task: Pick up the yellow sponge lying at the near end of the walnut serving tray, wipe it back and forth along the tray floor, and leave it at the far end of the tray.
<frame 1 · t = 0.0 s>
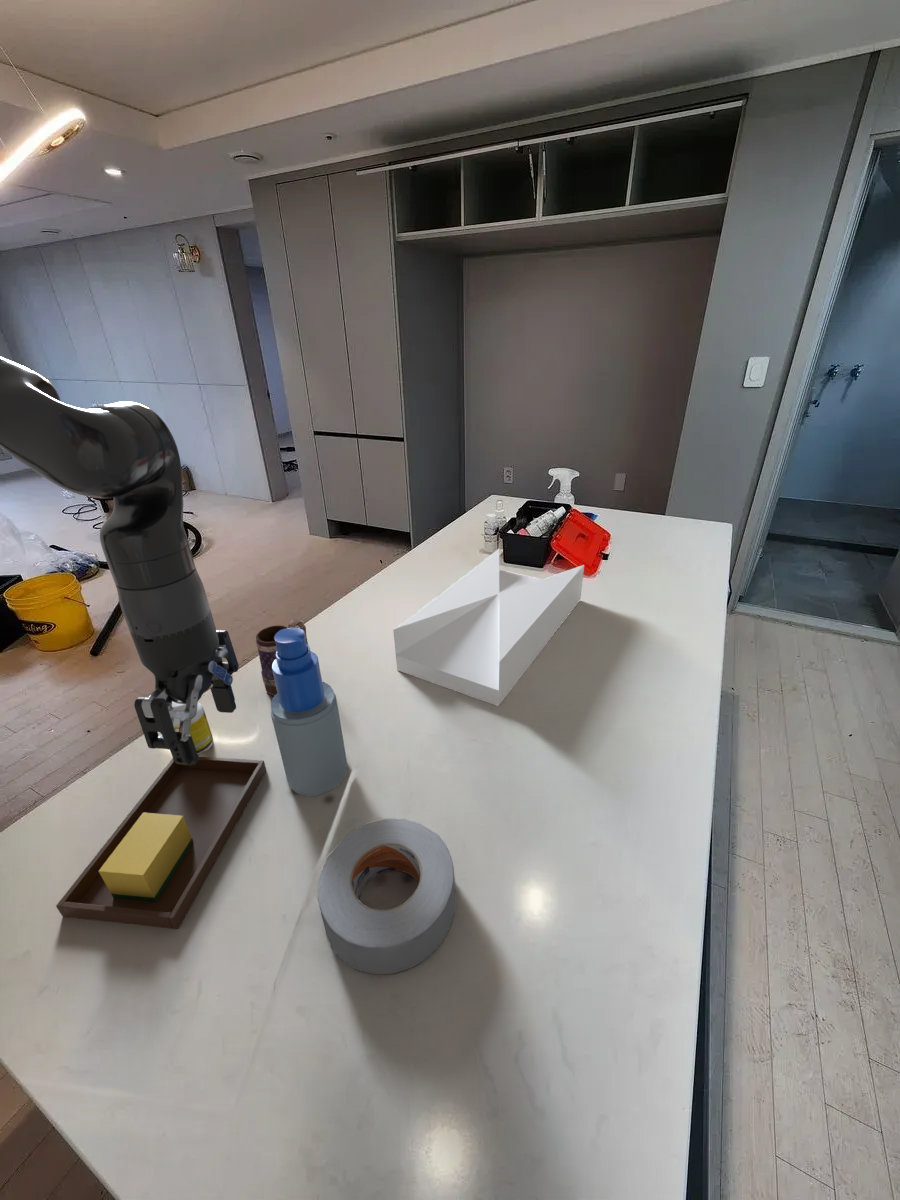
hand: (209, 735, 59), 18 cm above the table, tool pointing down, fingers open, 8 cm apart
spray bottle: (318, 775, 77), on the table
tray: (179, 836, 68), on the table
supplement bottle: (196, 747, 83), on the table
sponge: (155, 868, 63), point 1 cm above the table, touching tray
building model: (498, 632, 112), on the table
mug: (291, 682, 98), on the table
tape roll: (390, 902, 59), on the table
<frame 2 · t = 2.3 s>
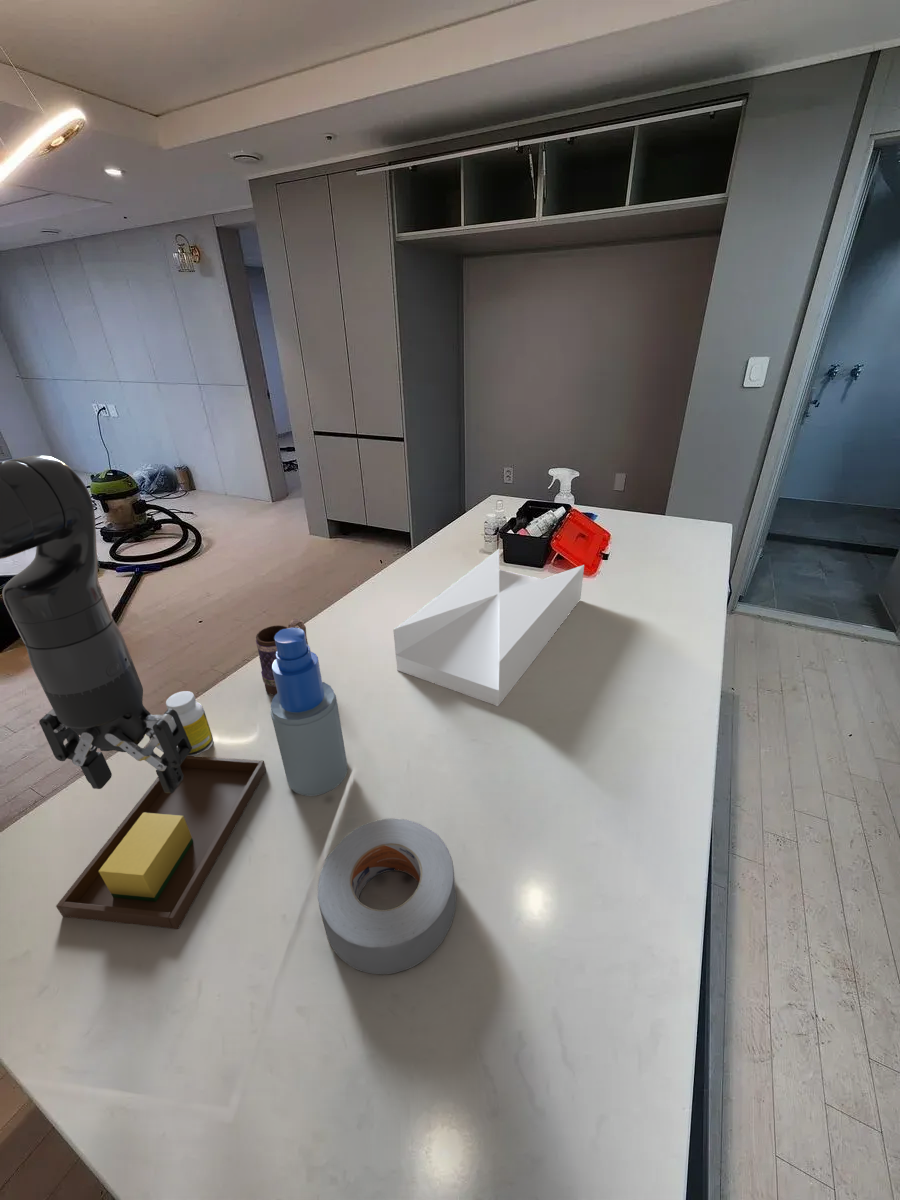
hand: (138, 785, 58), 14 cm above the table, tool pointing down, fingers open, 8 cm apart
nothing on the table moved.
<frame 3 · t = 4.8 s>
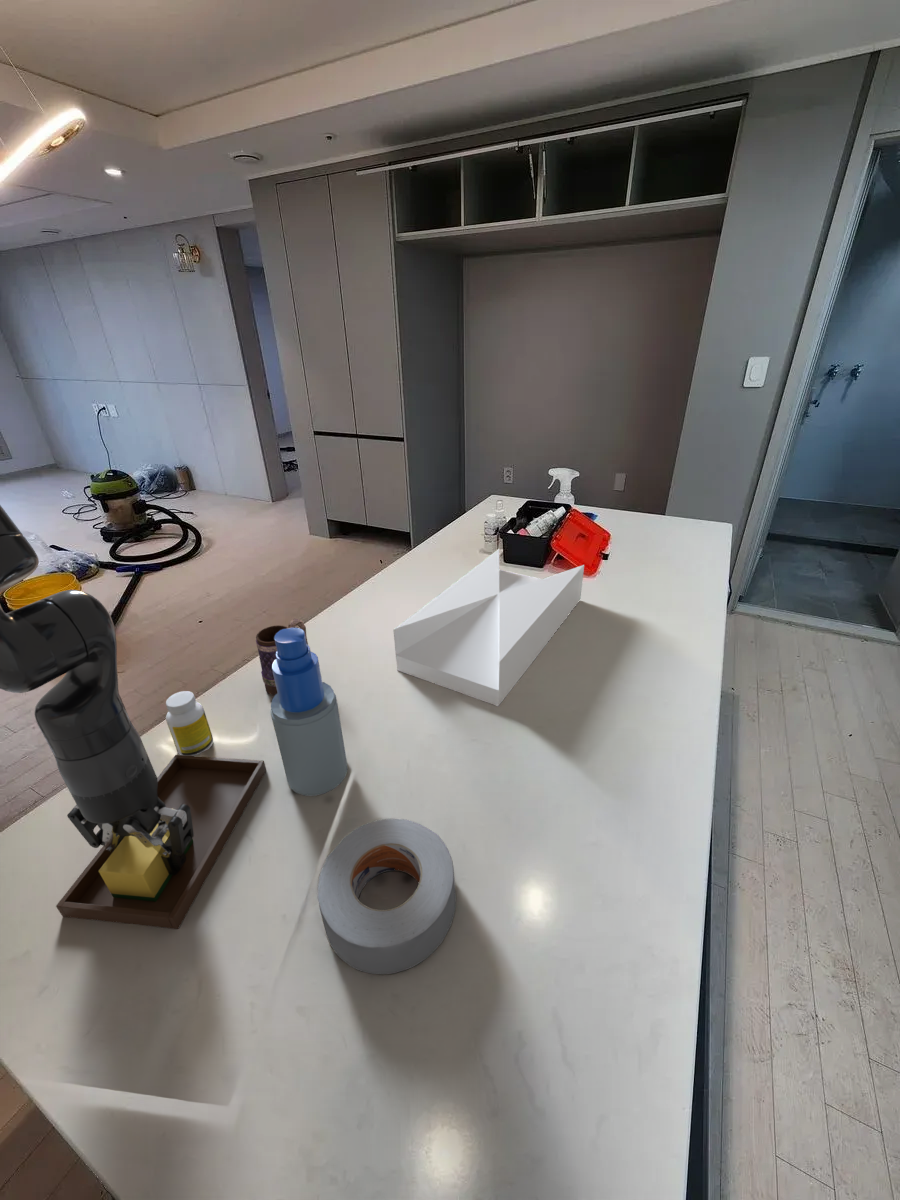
hand: (154, 865, 63), 1 cm above the table, tool pointing down, fingers closed on sponge, 5 cm apart
sponge: (155, 868, 63), point 1 cm above the table, touching gripper, tray
everything else where it was.
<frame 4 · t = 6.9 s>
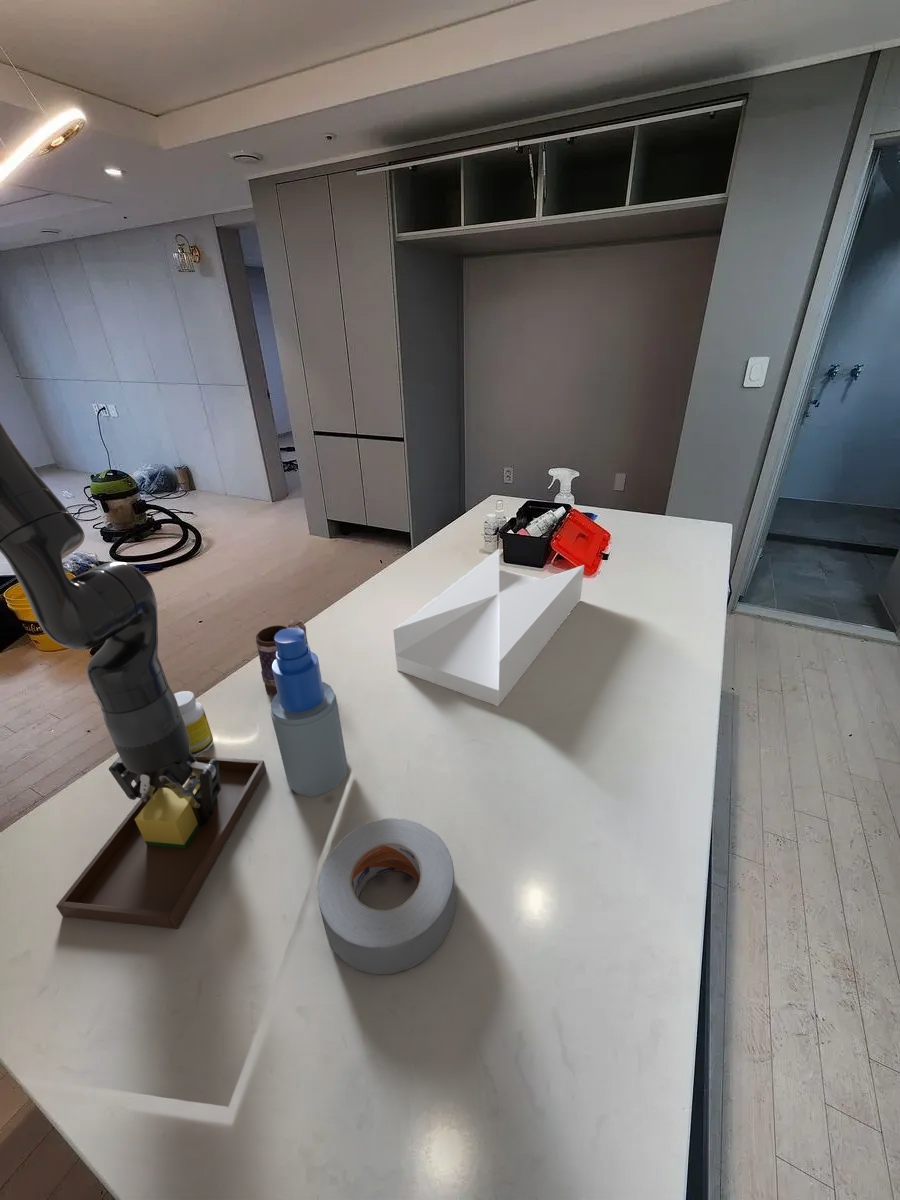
hand: (184, 817, 69), 1 cm above the table, tool pointing down, fingers closed on sponge, 5 cm apart
sponge: (183, 820, 69), point 1 cm above the table, touching gripper
everything else where it was.
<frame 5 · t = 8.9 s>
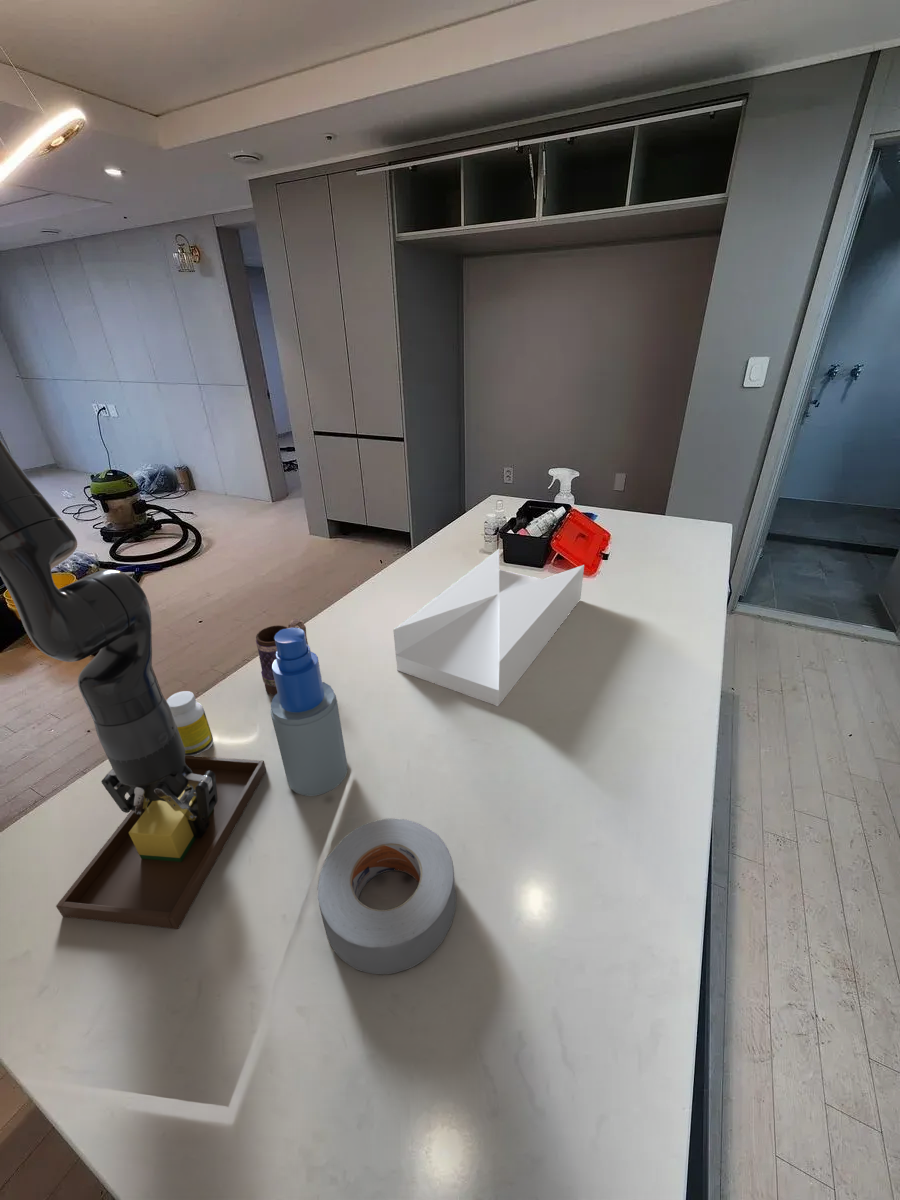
hand: (179, 830, 68), 1 cm above the table, tool pointing down, fingers closed on sponge, 5 cm apart
sponge: (179, 833, 68), point 1 cm above the table, touching gripper
everything else where it was.
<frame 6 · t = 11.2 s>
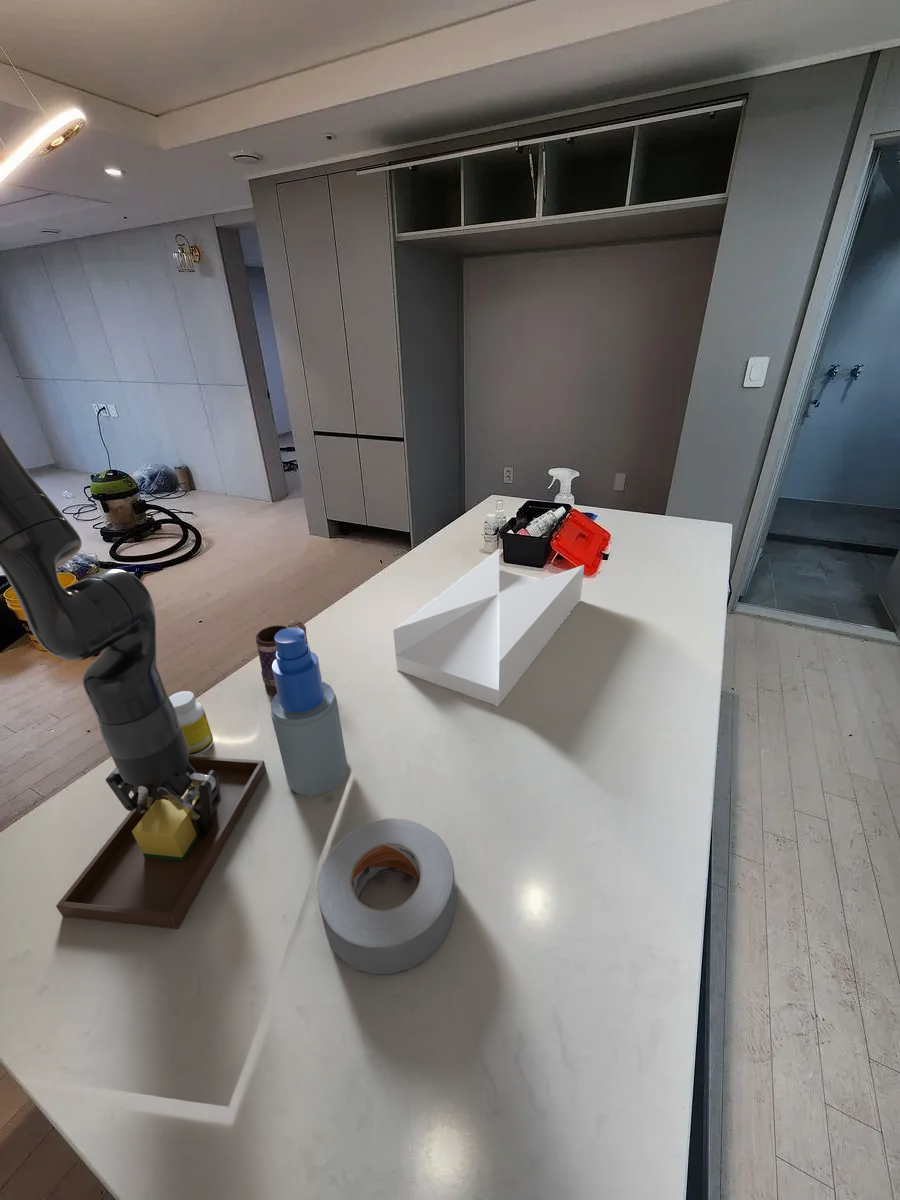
hand: (183, 829, 68), 1 cm above the table, tool pointing down, fingers closed on sponge, 5 cm apart
sponge: (182, 832, 68), point 1 cm above the table, touching gripper
everything else where it was.
when the fingers open (1 cm above the table, at t = 13.1 s): sponge stays where it is, resting on tray.
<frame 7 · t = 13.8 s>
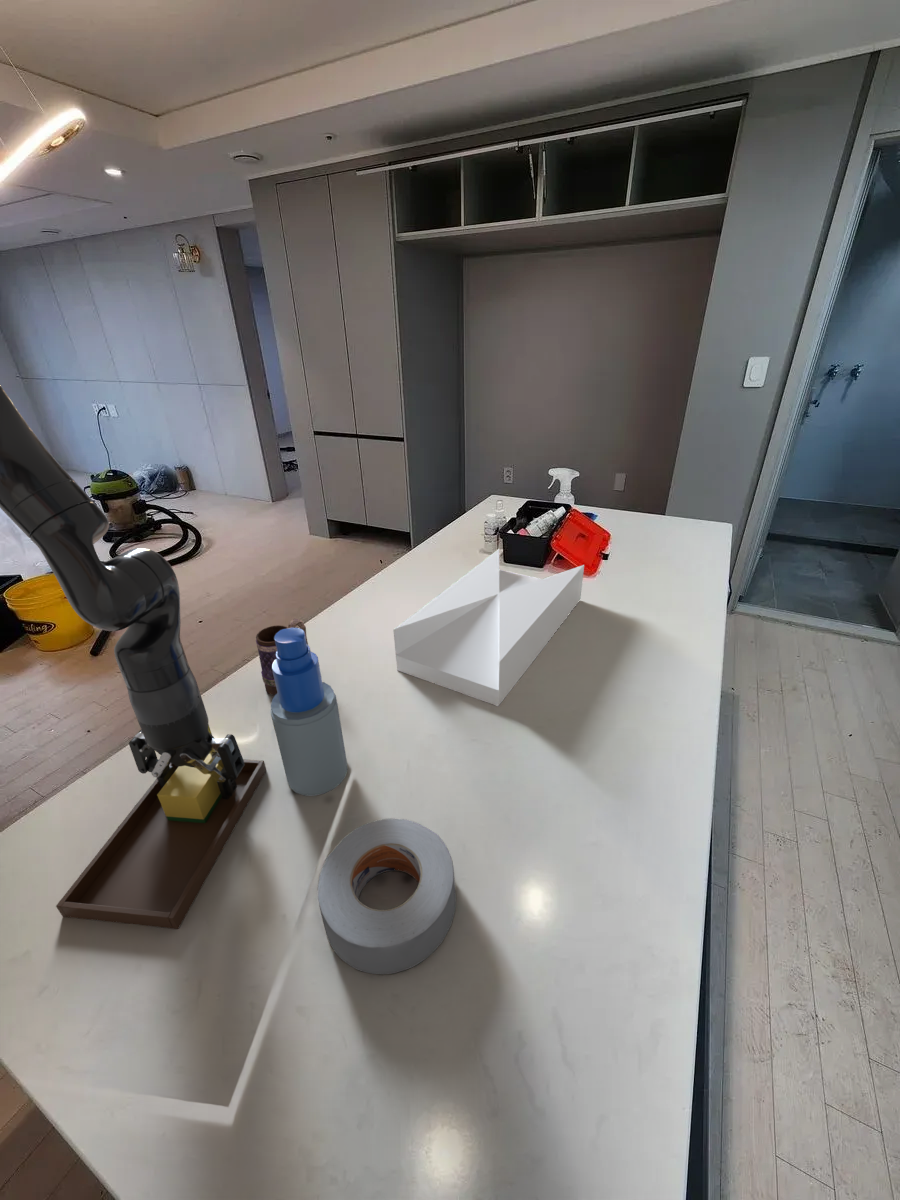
hand: (200, 792, 72), 1 cm above the table, tool pointing down, fingers open, 8 cm apart
sponge: (202, 798, 73), point 1 cm above the table, touching tray
everything else where it was.
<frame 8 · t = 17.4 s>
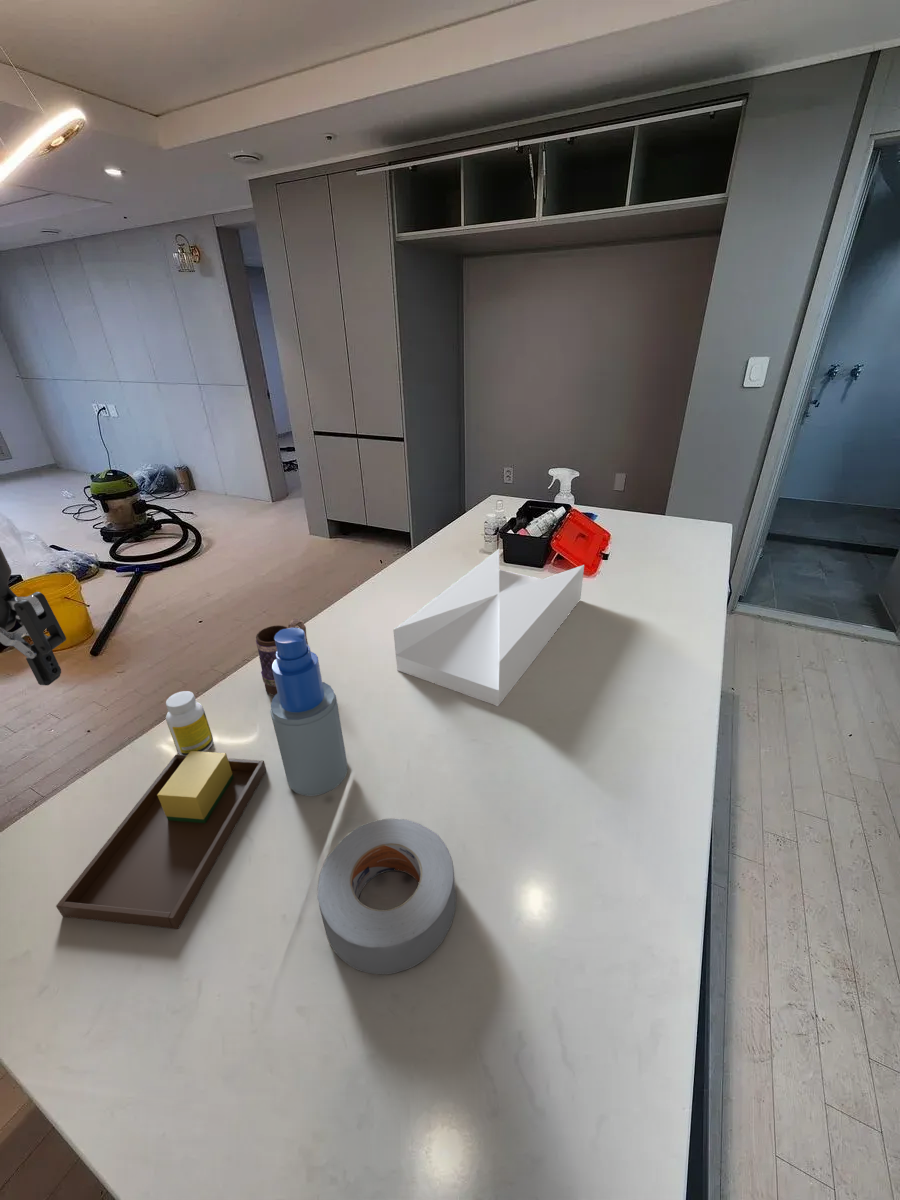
hand: (16, 679, 56), 26 cm above the table, tool pointing down, fingers open, 8 cm apart
nothing on the table moved.
at the end: sponge inside the target area in the tray (1.0 cm from its centre), point 0.6 cm above the tray's base; sponge moved 10.8 cm from its start; the gripper is holding nothing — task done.
